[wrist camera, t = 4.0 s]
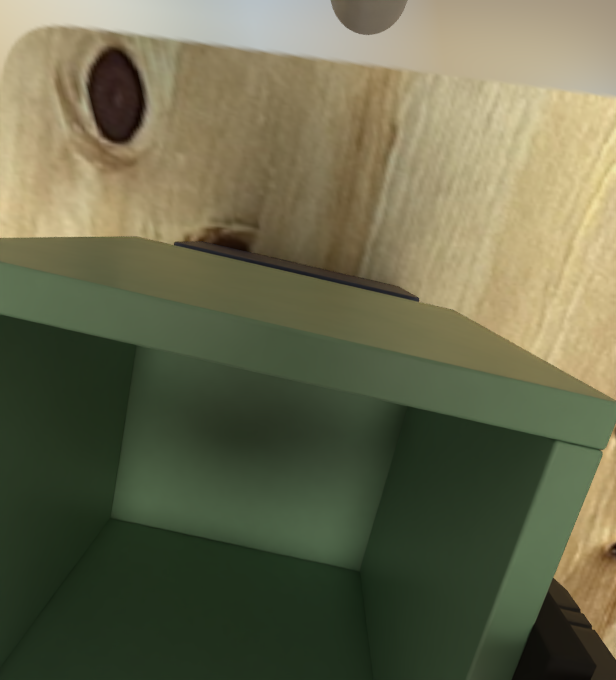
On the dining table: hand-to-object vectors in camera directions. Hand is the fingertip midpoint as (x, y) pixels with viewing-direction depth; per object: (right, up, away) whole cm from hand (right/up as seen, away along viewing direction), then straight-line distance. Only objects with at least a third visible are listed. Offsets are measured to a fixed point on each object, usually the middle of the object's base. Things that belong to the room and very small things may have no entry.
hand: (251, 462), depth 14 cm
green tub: (0, +1, +3) cm, 3 cm away
